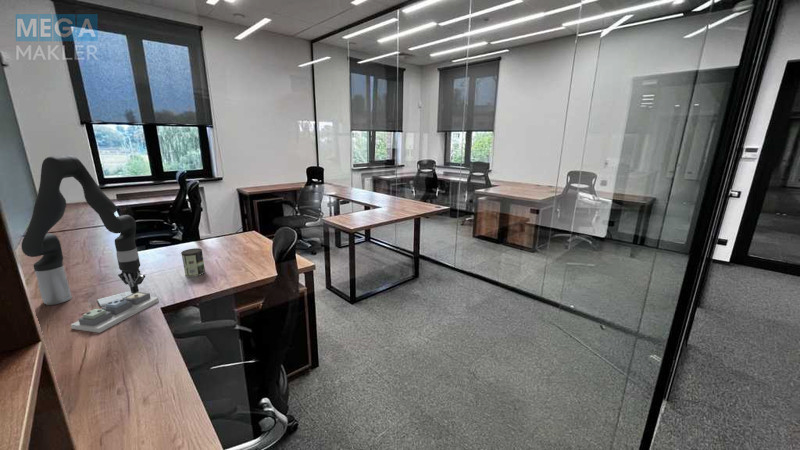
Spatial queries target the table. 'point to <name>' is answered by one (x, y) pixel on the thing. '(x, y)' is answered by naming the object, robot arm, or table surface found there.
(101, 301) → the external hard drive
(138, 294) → the button one
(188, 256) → the coffee can
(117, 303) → the button three
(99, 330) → the button panel
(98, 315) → the button two
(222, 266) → the table surface
